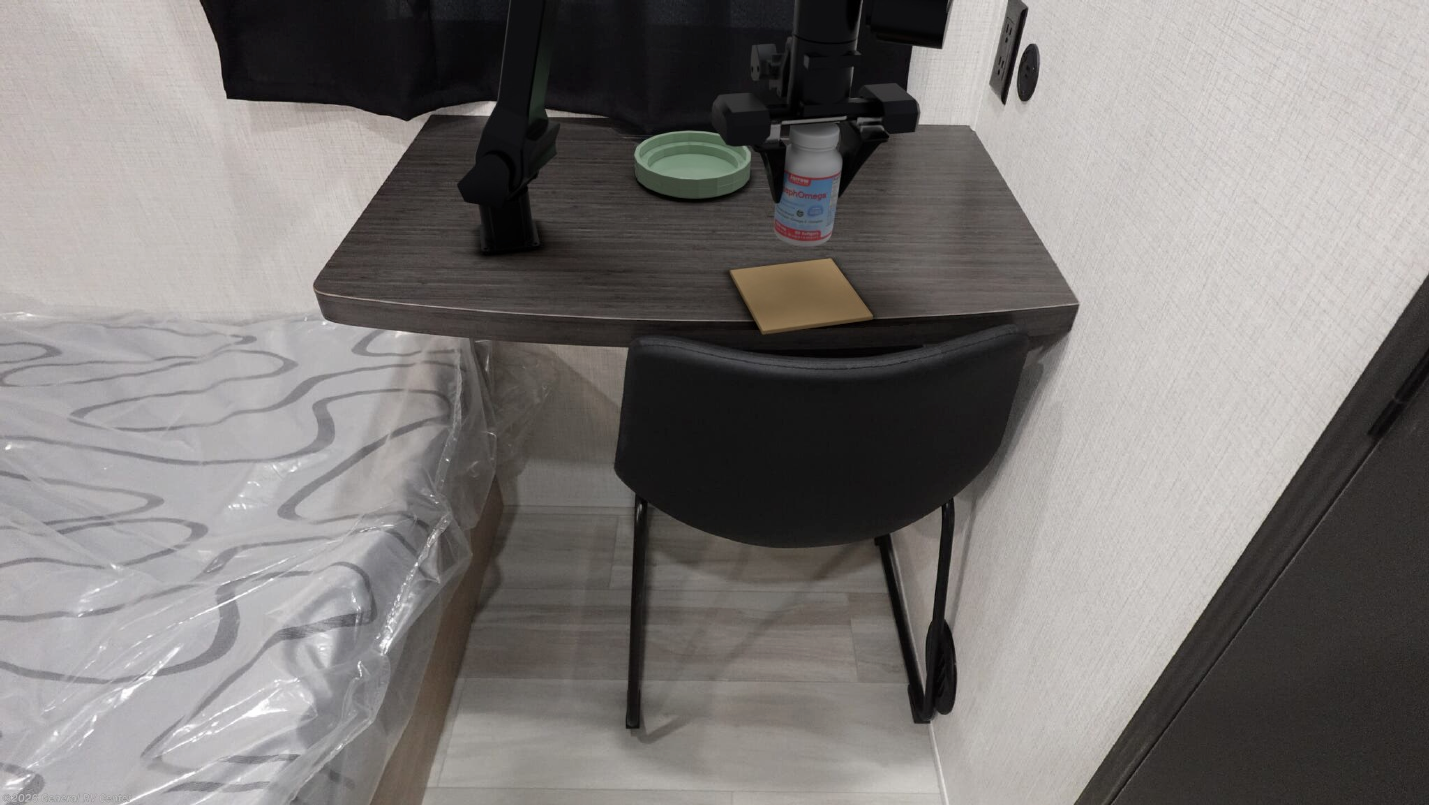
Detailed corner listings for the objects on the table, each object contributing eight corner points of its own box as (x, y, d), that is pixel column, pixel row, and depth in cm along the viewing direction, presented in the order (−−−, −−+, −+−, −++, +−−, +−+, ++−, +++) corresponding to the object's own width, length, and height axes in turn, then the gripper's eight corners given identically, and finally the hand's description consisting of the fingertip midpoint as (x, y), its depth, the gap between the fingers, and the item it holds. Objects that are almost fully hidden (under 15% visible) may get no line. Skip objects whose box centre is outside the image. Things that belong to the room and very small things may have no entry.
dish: (764, 196, 108) (765, 172, 106) (648, 207, 104) (647, 183, 102) (731, 148, 119) (732, 126, 117) (626, 157, 116) (625, 135, 114)
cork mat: (872, 319, 87) (873, 315, 86) (762, 334, 84) (762, 330, 84) (830, 261, 95) (831, 257, 95) (729, 273, 93) (729, 269, 93)
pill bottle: (765, 241, 84) (773, 132, 77) (783, 215, 88) (793, 110, 81) (823, 254, 82) (837, 144, 75) (839, 227, 87) (854, 120, 80)
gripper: (885, 3, 81) (861, 157, 91) (698, 11, 77) (695, 172, 87) (938, 39, 73) (906, 204, 83) (732, 50, 69) (724, 222, 79)
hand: (806, 198), depth 83 cm, fingers closed on pill bottle, 6 cm apart
